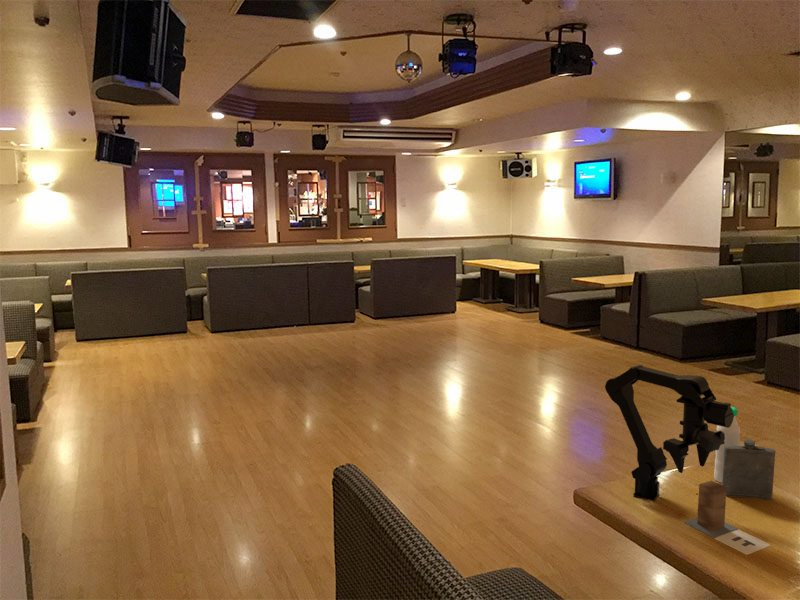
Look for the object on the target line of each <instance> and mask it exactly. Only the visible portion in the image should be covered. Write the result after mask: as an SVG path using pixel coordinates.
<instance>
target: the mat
mask: <svg viewBox="0 0 800 600" xmlns="http://www.w3.org/2000/svg"><path fill="white" fill-rule="evenodd" d="M697 518H698V516H696V517H695V518H693V519H692V518H691V519H688V520H687V521H684V522H683V523H684V524H685V525H688V526H689V527H692V528H693V529H696V530H697V531H699V532H701V533H702V534H705V535H707V536H709V537H711V538H713V539H714V538H716V537H718V536H721V535H724V534H726V533H729V532H732V531H734V530H737V529H739V528H738V527H736V526H734V525H732V524H729V523H727V522H726V521H725V524H724V527H723V528H720V529H717V530H714V531H711V530H709V529H707V528H705V527H703V526H701V525H699V524H697Z"/></svg>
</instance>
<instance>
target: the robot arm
mask: <svg viewBox="0 0 800 600" xmlns="http://www.w3.org/2000/svg"><path fill="white" fill-rule="evenodd" d="M639 381H641V382H645V383H648V384H653V385H656V386H660V387H663V388H667V389H670V390H673V391H674V392H676V393H677V394H678V395H679V396H680V397H679V398H677V399H676V400H675V401H676V403H681V404H683V413H682V420H679V425H680V426H682V433H679V436H678V437H679V438H680V439H682V440H680V439H677V438H675V437H674V438H670V439H665V440H664V441H663V443H662V447H661V446H660V447H657V446H656V445H654V444H653V442H652V439H651V437H650V436H649V433H648V430H647V429H646V426H645V425H644V422H643V419H642V417H641V415H640V413H639V410H638V408H637V406H636V405H637V404H636V403H635V401H634V400H635V399H634V398H635V393H634V392H635V390H634V387H633V386H634V385H635V384H636V383H637V382H639ZM604 390H605V391H606V393H607V395H608V396H609V399H611V401H612V402H613V403H614V404H616V405H617V406H618V408H619V410H620V412H621V415H622V417H623V419H624V421H625V423H626V426H627V429H628V430H629V432H630V435H631V437H632V441H633V442H634V445H635V447H636V450H637V451H636V452H637V453H636V454H637V455H636V460H637V464H638V467H636V468H634V469H633V470H631V475H632V478H633V479H634V492H633V494H632V497H636V498H640V499H645V500H649V501H655V500H656V498H657V497H659V495H660V483H661V482H660V481H659V476H660V475H661V473H662V472H663V471H665V470H666V468H667V465H668V464H667V460H668V458H667V457H666V455H665V453H664V450H665V451H666V452H667V453H669V455H670V457H671V459H672V460H673V462H674V465H675V467H676V469H677V471H678V473H680V474H683V472H684V465H685V458H686V457H687V456H689V453H688V452H689V449H690V447H691V446H695V445H696V450H697V451H696V452H697V457H698V463H699V466H701V467H705V465H706V462H707V461H708V460H707V459H708V457H709V456H710V453H713V452H714V451H715V450H719V448H720V445H722V444H724V443H725V442H724V440H725V435H724V433H723V432H722V431H717V430H716V431H714V430H709V425H708V424H711V425H716V426H717V425H718V426H722V427H727V428H729V427H730V426H731V424H732V422H733V418H734V413H733V410H732V408H731V407H732V405H731V403H730V402H722V401H718V400H717V397H716V395H714V393H713V391H712V389H711V388H710V386H709V383H708V381H707V379H706V378H705V377H704V376H702V375H690V374H687V375H685V374H683V375H682V374H681V375H679V374H674V373H671V372H666V371H662V370H658V369H654V368H650V367H647V366H644V365H642V364H637V365H633V366H631V367H630V368H628V370H626V371H625V372H623V373H622V374H620V375H617V376H615V377H612V378H609V379H608V380H607V381H606V382H605V385H604ZM702 396H703V397H702Z"/></svg>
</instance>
